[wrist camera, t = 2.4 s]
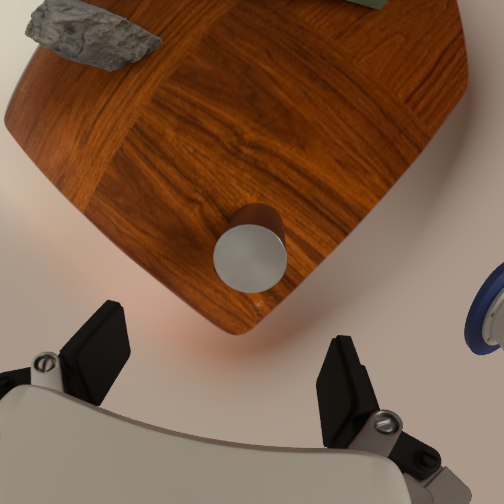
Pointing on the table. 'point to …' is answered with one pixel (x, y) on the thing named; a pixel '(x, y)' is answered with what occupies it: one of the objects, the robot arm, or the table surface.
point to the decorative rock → (89, 34)
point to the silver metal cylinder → (252, 250)
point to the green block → (370, 3)
